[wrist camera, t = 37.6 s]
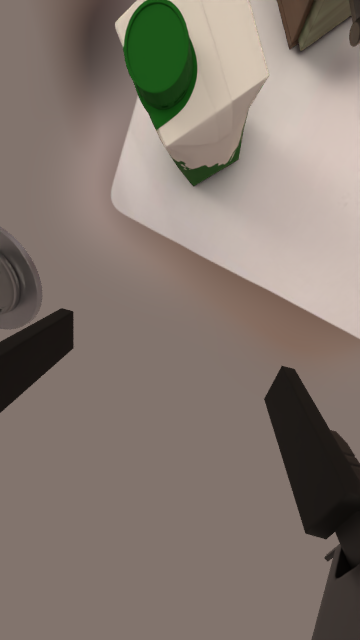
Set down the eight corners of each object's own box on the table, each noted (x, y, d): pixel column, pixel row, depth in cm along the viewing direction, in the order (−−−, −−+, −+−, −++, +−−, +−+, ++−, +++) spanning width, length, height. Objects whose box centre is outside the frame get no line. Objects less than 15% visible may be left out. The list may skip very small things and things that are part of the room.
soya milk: (164, 133, 30) (83, -17, 12) (225, 90, 27) (239, -192, 9) (190, 196, 33) (155, 151, 14) (248, 162, 30) (295, 54, 12)
